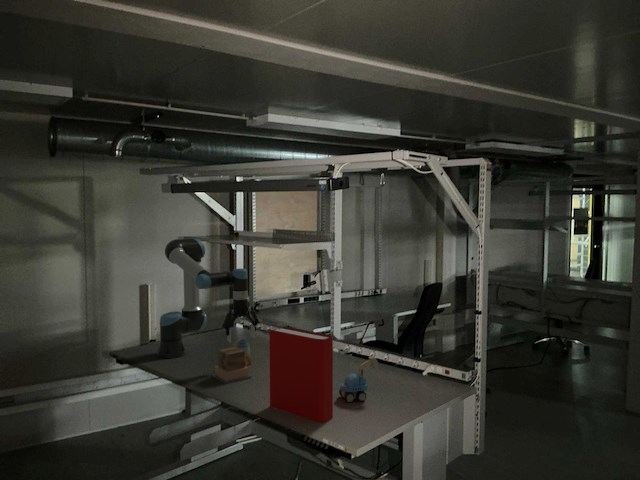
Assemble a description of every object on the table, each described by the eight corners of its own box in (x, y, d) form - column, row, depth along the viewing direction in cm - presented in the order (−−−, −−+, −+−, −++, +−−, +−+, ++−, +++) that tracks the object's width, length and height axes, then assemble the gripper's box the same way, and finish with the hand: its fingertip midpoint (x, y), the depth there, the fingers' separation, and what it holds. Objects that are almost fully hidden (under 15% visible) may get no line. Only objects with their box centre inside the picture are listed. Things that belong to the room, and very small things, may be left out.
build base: (212, 376, 246) (211, 366, 246) (237, 370, 255) (237, 361, 254) (225, 384, 235) (224, 373, 235) (251, 378, 243) (251, 367, 243)
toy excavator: (381, 399, 215) (381, 359, 214) (344, 403, 210) (344, 363, 210) (373, 392, 223) (373, 354, 222) (337, 396, 219) (337, 357, 218)
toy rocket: (250, 371, 256) (243, 344, 254) (230, 374, 259) (223, 346, 256) (256, 362, 266) (249, 336, 264) (237, 365, 269) (230, 338, 266)
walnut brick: (218, 366, 246) (218, 349, 245) (235, 362, 251) (234, 347, 251) (227, 371, 238) (227, 354, 238) (244, 367, 243) (244, 351, 243)
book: (269, 406, 208) (269, 329, 206) (283, 400, 214) (282, 326, 212) (321, 423, 190) (321, 339, 189) (334, 417, 197) (334, 335, 195)
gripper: (221, 302, 250) (222, 344, 251) (265, 297, 265) (265, 337, 266) (214, 300, 256) (215, 341, 257) (258, 295, 271) (258, 334, 272)
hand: (241, 339), depth 261 cm, fingers open, 13 cm apart
